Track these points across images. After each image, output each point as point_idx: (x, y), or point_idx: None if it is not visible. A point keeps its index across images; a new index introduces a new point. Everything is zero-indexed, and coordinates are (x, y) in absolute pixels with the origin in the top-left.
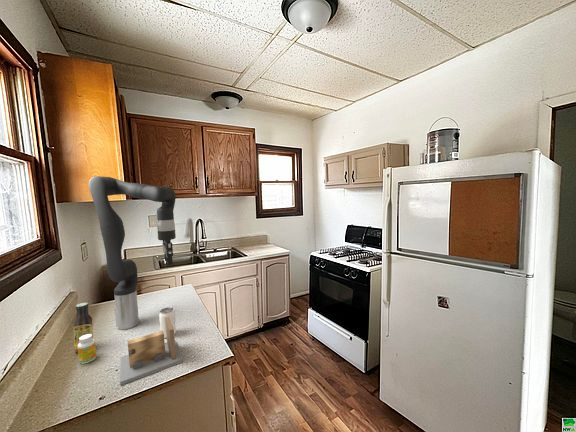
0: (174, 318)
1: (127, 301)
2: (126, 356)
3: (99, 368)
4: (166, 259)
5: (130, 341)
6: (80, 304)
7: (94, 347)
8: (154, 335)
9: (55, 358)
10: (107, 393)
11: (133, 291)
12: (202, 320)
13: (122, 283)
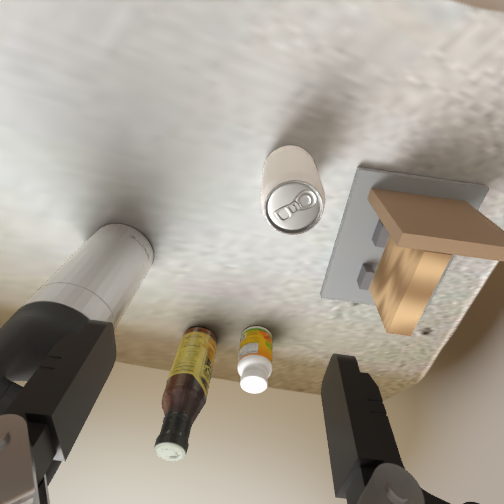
0: (311, 168)
1: (115, 315)
2: (330, 288)
3: (316, 325)
4: (105, 367)
5: (398, 328)
6: (167, 454)
7: (264, 348)
8: (431, 278)
9: None
10: (422, 324)
11: (82, 319)
12: (281, 4)
13: (25, 375)
